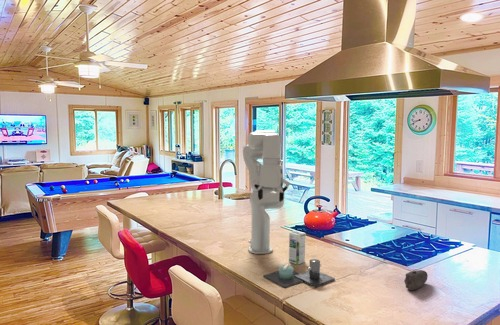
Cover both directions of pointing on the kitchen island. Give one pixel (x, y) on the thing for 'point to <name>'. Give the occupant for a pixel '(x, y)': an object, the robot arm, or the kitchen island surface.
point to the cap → (286, 272)
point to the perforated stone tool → (415, 279)
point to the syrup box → (296, 247)
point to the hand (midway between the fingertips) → (270, 200)
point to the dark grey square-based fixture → (314, 275)
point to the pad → (284, 283)
